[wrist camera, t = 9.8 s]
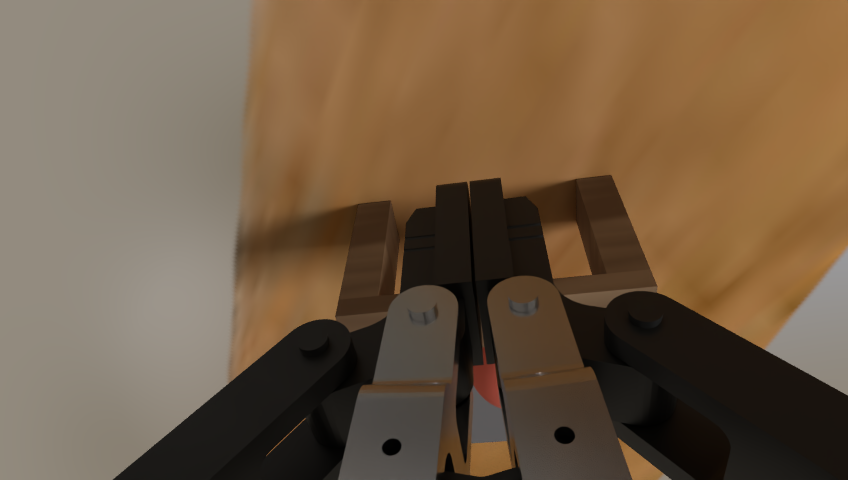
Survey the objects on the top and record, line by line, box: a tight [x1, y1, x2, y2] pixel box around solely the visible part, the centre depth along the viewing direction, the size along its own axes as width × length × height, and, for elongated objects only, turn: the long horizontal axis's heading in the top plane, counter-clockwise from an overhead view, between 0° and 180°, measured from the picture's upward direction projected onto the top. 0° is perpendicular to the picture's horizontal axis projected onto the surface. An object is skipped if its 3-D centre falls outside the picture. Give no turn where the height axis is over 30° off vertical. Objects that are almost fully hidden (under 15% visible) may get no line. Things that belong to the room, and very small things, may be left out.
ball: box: [473, 347, 501, 408], centre depth 41 cm, size 6×6×6 cm
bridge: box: [335, 175, 657, 347], centre depth 33 cm, size 3×15×10 cm, turn 99°
